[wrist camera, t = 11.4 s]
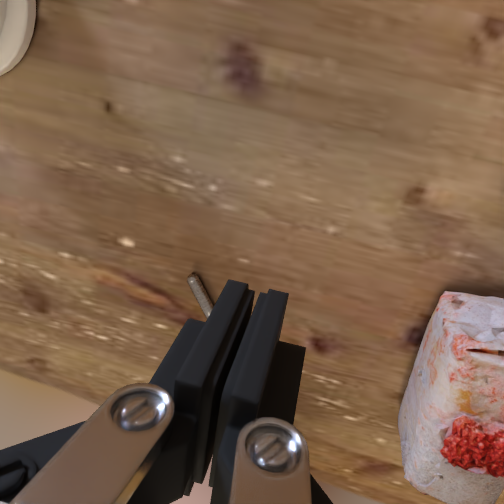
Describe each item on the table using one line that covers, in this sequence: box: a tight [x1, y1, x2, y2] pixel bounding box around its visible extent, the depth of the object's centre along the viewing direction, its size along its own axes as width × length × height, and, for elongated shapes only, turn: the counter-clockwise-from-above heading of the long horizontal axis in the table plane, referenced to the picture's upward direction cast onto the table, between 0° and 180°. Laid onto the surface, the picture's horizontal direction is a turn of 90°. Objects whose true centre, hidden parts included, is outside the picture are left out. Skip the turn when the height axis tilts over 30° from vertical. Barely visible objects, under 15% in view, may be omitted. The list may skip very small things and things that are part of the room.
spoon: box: [187, 274, 214, 319], centre depth 38 cm, size 15×4×1 cm, turn 25°
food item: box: [398, 291, 504, 504], centre depth 29 cm, size 14×8×10 cm, turn 175°
